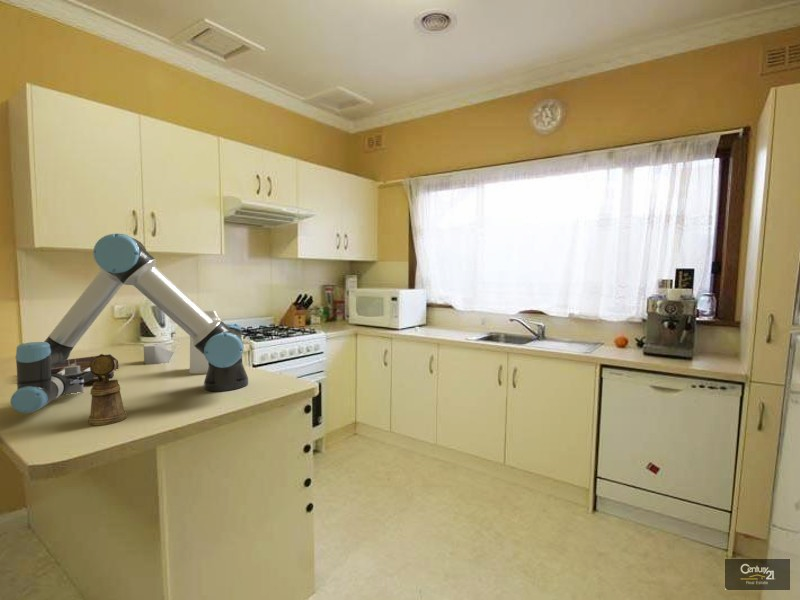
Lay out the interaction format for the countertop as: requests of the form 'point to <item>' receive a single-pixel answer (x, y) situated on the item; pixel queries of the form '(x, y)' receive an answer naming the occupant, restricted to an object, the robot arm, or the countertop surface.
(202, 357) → the milk
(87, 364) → the cart
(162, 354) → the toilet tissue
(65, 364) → the brown wooden tray
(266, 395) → the countertop surface
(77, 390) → the power adapter
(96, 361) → the brown bell-shaped piece
